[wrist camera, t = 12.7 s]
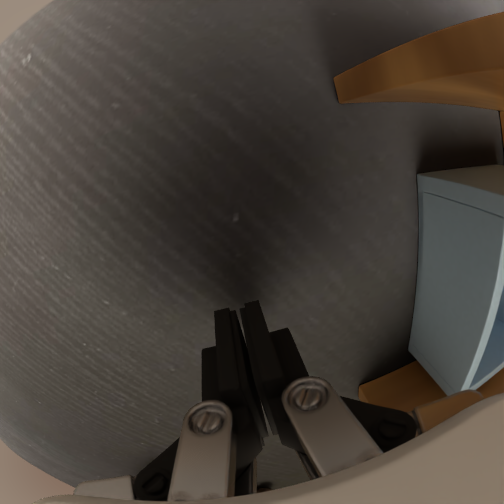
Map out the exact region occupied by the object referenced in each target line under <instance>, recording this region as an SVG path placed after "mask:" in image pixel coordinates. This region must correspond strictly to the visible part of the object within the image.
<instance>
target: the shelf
mask: <svg viewBox="0 0 504 504" xmlns="http://www.w3.org/2000/svg"><path fill="white" fill-rule="evenodd" d="M333 79H334V83H335V87H336V92H337V96H338V101H339V103H340V104H344V103H362V102H422V103H439V104H452V105H462V106H470V107H478V108H485V109H492V110H498V111H500V112H499V113H500V119H501V127H502V135H503V146H504V12H501V13H497V14H492V15H488V16H484V17H480V18H477V19H473V20H470V21H466V22H463V23H460V24H456V25H453V26H450V27H447V28H444V29H441V30H439V31H436V32H433V33H430V34H428V35H425V36H422V37H420V38H417V39H415V40H412V41H410V42H407V43H405V44H402V45H400V46H398V47H395V48H393V49H391V50H389V51H386V52H384V53H382V54H380V55H378V56H375V57H373V58H371V59H369V60H367V61H365V62H363V63H361V64H359V65H357V66H355V67H353V68H351V69H349V70H347V71H345V72H343V73H341V74H339V75H337V76H336V77H334V78H333ZM476 391H478V392H479V393H481V394H482V396H483V397H484V398H485V399H486V398H488V397H491V396H494V395H497V394H501V393H504V367H503V368H502V369H501V370H500V371H499V372H497V373H496V374H495V375H494V376H493V377H491V378H490V379H489V380H488V381H486V382H485V383H484V384H483V385H481V386H480V387H479V388H477V389H476ZM358 397H359V398H360V400H361V402H365V403H369V404H374V405H378V406H383V407H387V408H392V409H397V410H401V411H404V412H409V411H412V410H413V409H414V407H417V406H420V405H423V404H426V403H429V402H432V401H435V400H438V399H441V398H444V397H447V395H446V394H445V392H444V391H443V390H442V389H441V388H440V386H439V385H438V384H437V383H436V382H435V380H434V379H433V378H432V377H431V376H430V375H429V373H428V372H427V371H426V370H425V369H424V368H423V366H422V365H421V364H420V363H419V362H418V361H417V360H416V361H414V362H412V363H410V364H408V365H406V366H404V367H402V368H400V369H398V370H395V371H393V372H391V373H389V374H387V375H384V376H382V377H380V378H377V379H375V380H373V381H370V382H368V383H365V384H363V385H360V386H359V394H358Z"/></svg>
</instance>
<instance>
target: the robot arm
mask: <svg viewBox="0 0 504 504" xmlns="http://www.w3.org/2000/svg"><path fill="white" fill-rule="evenodd" d="M244 305H245V308H241V309H240V313H241V319H242V324H243V329H244V334H245V339H246V343H245V339H244V336H243V333H242V330H241V327H240V323H239V320H238V317H237V314H236V311H235V310H233V311H230V309H229V308H225V309H221V310H217V311H214V317H215V337H216V346H214V347H210V348H205V349H203V350H202V402H200V403H198V404H195V405H194V406H193V407H191V408H190V409H189V410H188V412H187V413H186V414H185V417H184V419H183V424H182V429H181V433H180V437H179V438H178V439H177V440H176V441H175V442H174V443H173V444H172V445H171V446H169V447H168V448H167V449H166V450H165V451H164V452H163V453H162V454H160V455H159V456H158V457H157V458H156V459H155V460H153V461H152V462H151V463H150V464H149V465H148V466H146V467H145V468H144V469H143V470H142V471H141V472H140V473H139V474H138V475H137V476H134V477H133V476H131V475H125V476H119V477H113V478H107V479H99V480H91V481H85V482H81V483H80V484H79V485H77V486H76V488H75V490H74V494H73V495H58V496H52V497H48V498H43V499H40V500H38V501H36V502H34V503H33V504H504V393H501V394H497V395H494V396H491V397H488V398H486V399H485V398H484V397H483V396H482V394H481V393H479V392H478V391H476V390H471V389H467V390H463V391H460V392H457V393H455V394H452V395H450V396H447V397H444V398H441V399H438V400H435V401H432V402H429V403H426V404H423V405H420V406H417V407H414V409H413V410H412V411H409V412H404V411H401V410H397V409H392V408H387V407H383V406H378V405H374V404H369V403H365V402H361V401H357V400H353V399H349V398H345V397H342V396H339V395H338V393H337V392H336V391H335V390H334V388H333V387H332V386H331V384H330V383H329V382H327V381H326V380H325V379H322V378H320V377H314V376H309V375H308V372H307V370H306V368H305V365H304V363H303V361H302V358H301V356H300V354H299V351H298V349H297V347H296V344H295V342H294V340H293V338H292V335H291V333H290V331H289V329H288V328H284V329H281V330H277V331H274V332H270V333H269V331H268V328H267V325H266V322H265V319H264V316H263V313H262V309H261V306H260V303H259V300H256V301H252V302H248V303H245V304H244ZM246 344H247V346H246ZM260 400H261V401H260ZM261 403H262V405H261ZM262 406H263V408H264V411H265V414H266V417H267V419H268V422H269V425H270V428H271V430H272V433H273V435H277V434H279V437H280V440H281V443H282V445H285V446H287V447H289V448H292V449H294V450H295V452H296V454H297V456H298V458H299V460H300V462H301V464H302V465H303V467H304V469H305V471H306V473H307V475H308V477H309V478H310V480H311V481H307V482H304V483H300V484H296V485H293V486H289V487H284V488H280V489H276V490H271V491H266V492H261V493H257V461H256V456H257V455H258V454H259V453H260V452H261V450H262V446H265V445H264V441H263V438H265V437H268V431H267V427H266V423H265V418H264V414H263V410H262Z"/></svg>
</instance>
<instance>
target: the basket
mask: <svg viewBox="0 0 504 504" xmlns="http://www.w3.org/2000/svg"><path fill="white" fill-rule="evenodd" d="M417 184H418V205H419V250H418V271H417V285H416V296H415V305H414V314H413V321H412V328H411V335H410V341H409V347H408V351H409V352H410V353H411V354H412V355H413V356H414V357H415V358H416V359H417V361H418V362H419V363H420V364H421V365H422V366H423V368H424V369H425V370H426V371H427V372H428V373H429V375H430V376H431V377H432V378H433V379H434V380H435V382H436V383H437V384H438V385H439V386H440V388H441V389H442V390H443V391H444V392H445V394H446V395H447V396H450V395H452V394H455V393H457V392H460V391H463V390H467V389H471V390H476V389H477V388H479V387H480V386H481V385H483V384H484V383H485V382H486V381H488V380H489V379H490V378H491V377H493V376H494V375H495V374H496V373H497V372H499V371H500V370H501V369H502V368H503V367H504V166H503V165H499V164H495V165H485V166H475V167H466V168H458V169H450V170H442V171H434V172H427V173H420V174H417Z"/></svg>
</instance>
